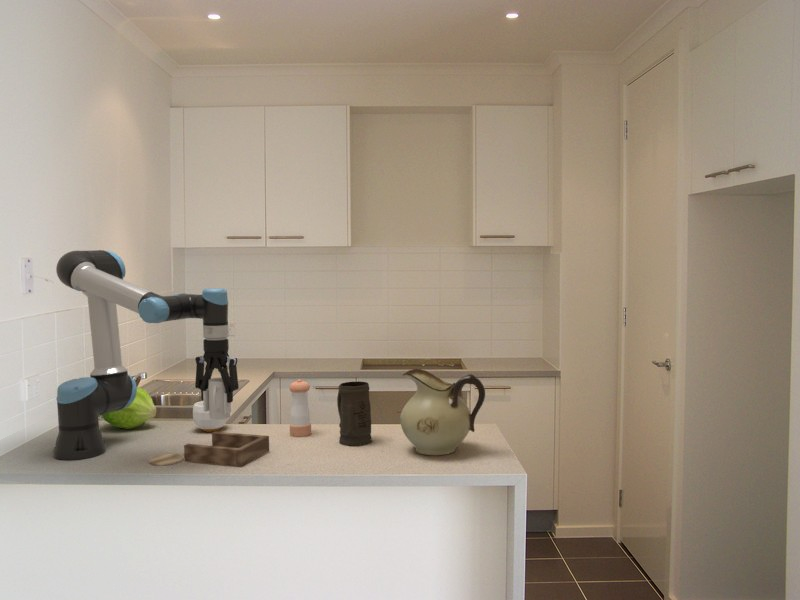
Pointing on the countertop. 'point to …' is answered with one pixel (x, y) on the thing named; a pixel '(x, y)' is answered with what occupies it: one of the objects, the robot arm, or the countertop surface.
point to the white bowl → (206, 419)
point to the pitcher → (438, 413)
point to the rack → (228, 449)
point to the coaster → (166, 459)
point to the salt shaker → (300, 409)
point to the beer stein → (354, 413)
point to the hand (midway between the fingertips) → (217, 411)
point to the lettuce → (133, 412)
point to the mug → (217, 399)
